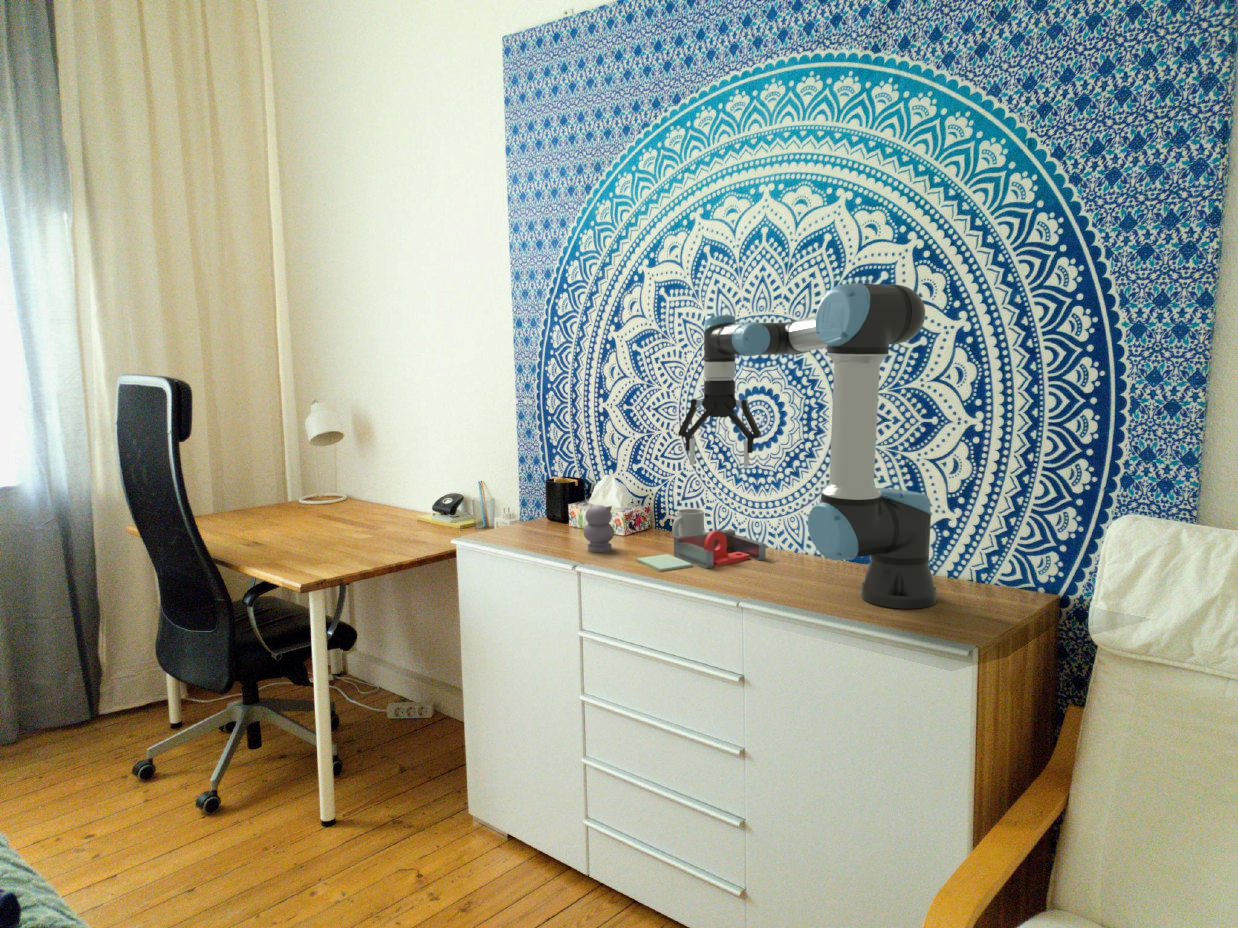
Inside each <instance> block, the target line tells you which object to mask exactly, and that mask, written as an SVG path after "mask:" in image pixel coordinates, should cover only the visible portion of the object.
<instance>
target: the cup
mask: <svg viewBox="0 0 1238 928" xmlns="http://www.w3.org/2000/svg"><path fill="white" fill-rule="evenodd" d="M699 533H705V512H704V510H703V509H697V508H682V509H678V510H677V511H676V518H675V519H674V520H673V523H672V536H673V538H674V537H676V536H684V535H691V534H699Z"/></svg>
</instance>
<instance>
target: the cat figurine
mask: <svg viewBox="0 0 1238 928" xmlns="http://www.w3.org/2000/svg"><path fill="white" fill-rule="evenodd" d="M589 505H590V506H589V508H588V509H587V510H586V512H585V520H586V522H587V524H586V525H584V528H583V536H584V538H585V539H586V540H587V541H588V542H589V543H588V544H587V551H589V552H591V553H607V552H610V551H612V548H613V546H612V543H611V542H610V541H611V540H613V538H614V537H615V529H614V527H613V526H612V525H611V521H612V516H613V515H612V513H611V510H612V507H613V505H609V506H604V505H602V504H593V503H590V504H589Z"/></svg>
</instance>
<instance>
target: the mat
mask: <svg viewBox="0 0 1238 928" xmlns="http://www.w3.org/2000/svg"><path fill="white" fill-rule="evenodd" d="M636 562H638V563H641V564H642V565H645V566H648V567H650V568H653V570H654V569H655V570H657V571H659V572H664V571H665V572H666V571H672V570H673V571H674V570H678V569H685V568H692V567H693V566H694V564H693V563H691V562H688V561H686V560H683V559H681V558H678V557H675V556H674V555H670V554H668V553H666V554H657V555H651V556H644V557H638V558H636Z"/></svg>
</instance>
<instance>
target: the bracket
mask: <svg viewBox="0 0 1238 928" xmlns="http://www.w3.org/2000/svg"><path fill="white" fill-rule="evenodd" d="M709 532H710V533H709V534H708V535H707V537H706V539H705V542H704V548H705V549H708V550H711V551H713V567H722V566H725V565H730V564H735V563H739V562H742V561H747V560H749V559H750V557H749V554H746V553H742V552H730V553H728V550H727V540H726V536H725V534H724V533H723V532H721V530H717V529H715V530H714V529H713V530H711V531H709ZM716 539H717V540H718V546H717V547H716V549H714V548H713V543H714V541H715V540H716Z"/></svg>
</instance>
